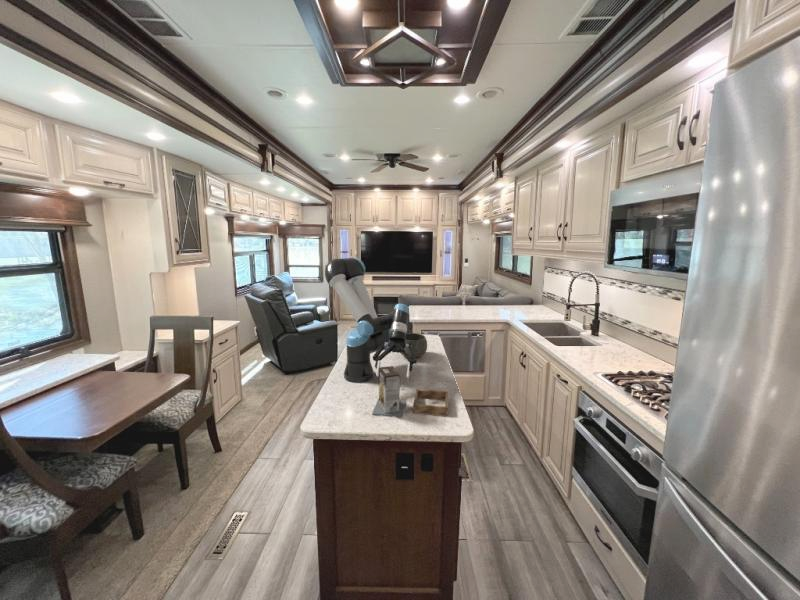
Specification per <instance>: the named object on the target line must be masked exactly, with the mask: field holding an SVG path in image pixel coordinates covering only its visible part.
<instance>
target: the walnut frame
mask: <svg viewBox="0 0 800 600" xmlns="http://www.w3.org/2000/svg"><path fill="white" fill-rule="evenodd" d="M419 398H420V399H431V400H445V401H444V403H445V404H444V406H443V405H434V404H421V403H418V399H419ZM412 403H413V404H412V414H420V413H421V414H422V415H423V414H424V415H432V414H433V416H444V417H445V416H446V417H447V416H448V415H449V412H448V411H449V391H444V390H434V389H433V390H431V389H420V388H419V389H418V388H417V389H415V394H414V399H413V402H412Z"/></svg>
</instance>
